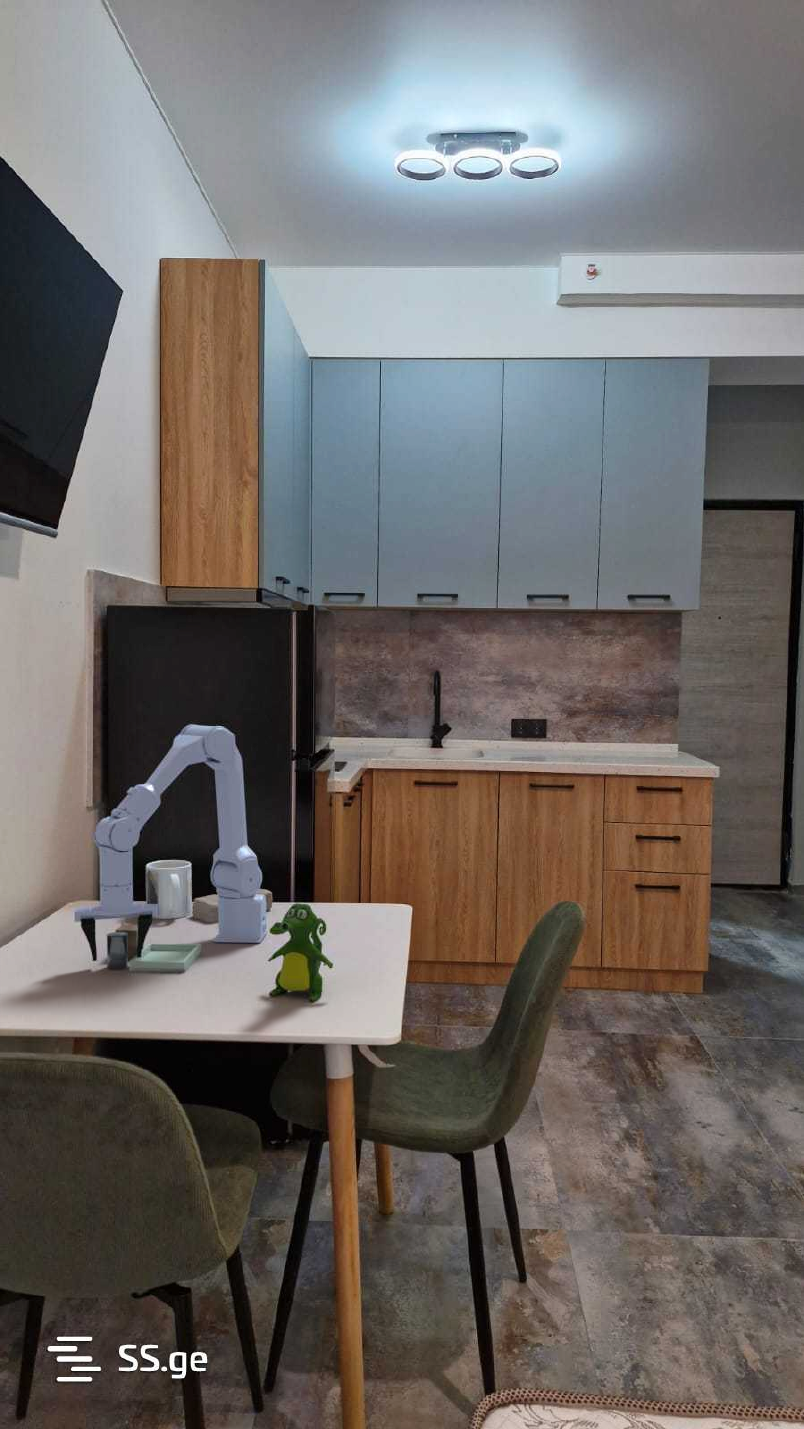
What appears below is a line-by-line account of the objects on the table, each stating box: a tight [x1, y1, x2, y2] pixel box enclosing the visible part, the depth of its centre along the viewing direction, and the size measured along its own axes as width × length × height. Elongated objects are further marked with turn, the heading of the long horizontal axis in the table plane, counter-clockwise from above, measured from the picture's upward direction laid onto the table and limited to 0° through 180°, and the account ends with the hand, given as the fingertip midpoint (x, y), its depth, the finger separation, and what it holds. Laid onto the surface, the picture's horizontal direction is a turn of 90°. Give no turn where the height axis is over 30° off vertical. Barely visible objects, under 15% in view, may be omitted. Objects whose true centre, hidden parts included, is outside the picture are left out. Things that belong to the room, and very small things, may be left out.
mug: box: [145, 859, 193, 920], centre depth 221 cm, size 10×12×11 cm
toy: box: [267, 902, 334, 1002], centre depth 168 cm, size 12×19×15 cm, turn 160°
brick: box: [191, 888, 273, 924], centre depth 223 cm, size 17×8×5 cm, turn 135°
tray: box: [128, 942, 202, 973], centre depth 186 cm, size 10×12×2 cm
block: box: [114, 924, 144, 960], centre depth 190 cm, size 4×4×6 cm
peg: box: [106, 931, 129, 971], centre depth 183 cm, size 4×4×6 cm
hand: (117, 957), depth 183 cm, fingers open, 7 cm apart
